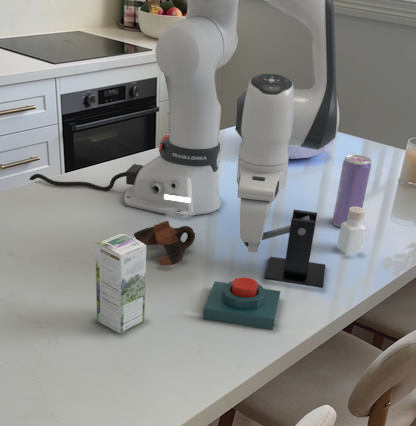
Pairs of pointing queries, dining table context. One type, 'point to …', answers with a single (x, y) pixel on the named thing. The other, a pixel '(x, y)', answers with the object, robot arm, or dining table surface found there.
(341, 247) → the pepper shaker
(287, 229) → the lever handle
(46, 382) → the dining table surface
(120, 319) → the syrup box
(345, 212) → the beverage can
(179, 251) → the brown clay jug
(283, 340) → the dining table surface
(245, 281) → the button
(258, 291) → the teal base plate
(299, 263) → the lever stand
